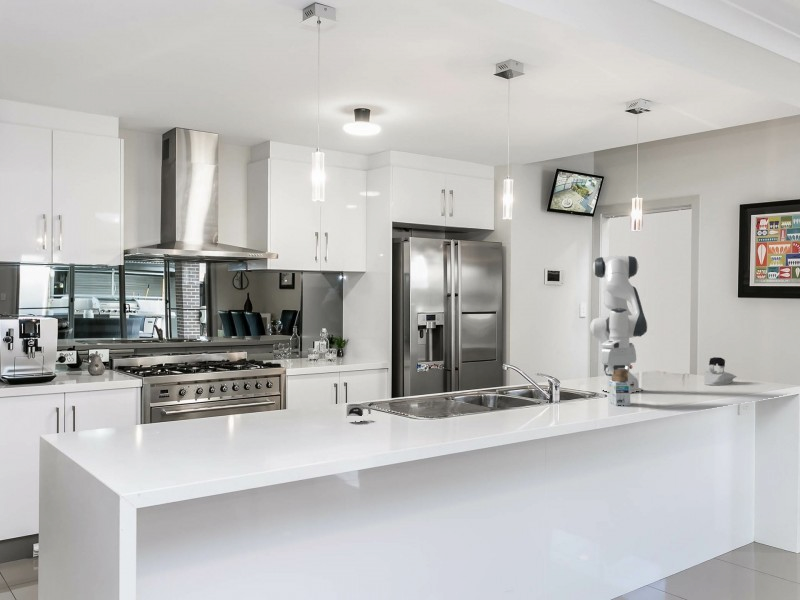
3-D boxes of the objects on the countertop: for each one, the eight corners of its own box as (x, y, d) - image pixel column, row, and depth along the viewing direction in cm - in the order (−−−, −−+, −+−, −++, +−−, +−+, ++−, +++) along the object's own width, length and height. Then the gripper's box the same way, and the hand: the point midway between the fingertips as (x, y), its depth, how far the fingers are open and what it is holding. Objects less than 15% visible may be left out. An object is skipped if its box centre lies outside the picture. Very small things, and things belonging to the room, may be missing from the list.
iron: (737, 382, 397) (737, 356, 397) (720, 386, 381) (720, 359, 381) (717, 381, 405) (717, 355, 405) (700, 384, 388) (700, 358, 388)
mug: (348, 423, 276) (348, 406, 276) (345, 420, 283) (345, 404, 283) (372, 421, 279) (372, 405, 279) (369, 419, 285) (368, 403, 285)
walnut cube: (618, 380, 322) (618, 369, 322) (627, 381, 318) (627, 370, 318) (611, 380, 319) (611, 370, 319) (620, 381, 315) (620, 370, 315)
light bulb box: (630, 406, 313) (630, 382, 313) (615, 406, 314) (615, 382, 314) (623, 402, 324) (623, 379, 324) (609, 402, 324) (608, 379, 324)
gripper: (628, 342, 327) (628, 371, 327) (598, 344, 316) (599, 374, 316) (639, 342, 322) (639, 372, 322) (610, 344, 311) (610, 375, 311)
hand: (619, 373), depth 319 cm, fingers open, 8 cm apart
